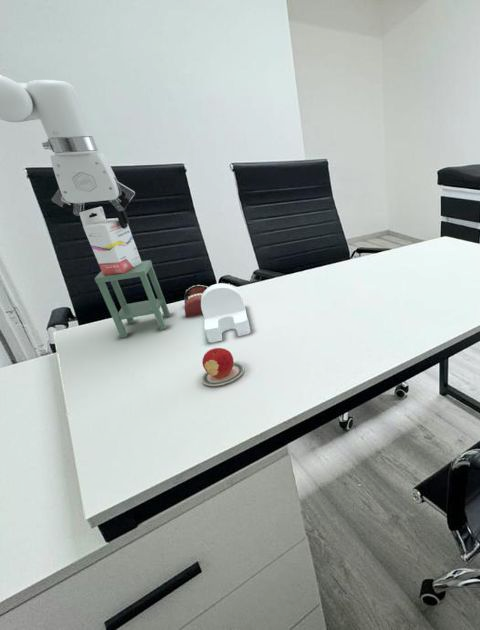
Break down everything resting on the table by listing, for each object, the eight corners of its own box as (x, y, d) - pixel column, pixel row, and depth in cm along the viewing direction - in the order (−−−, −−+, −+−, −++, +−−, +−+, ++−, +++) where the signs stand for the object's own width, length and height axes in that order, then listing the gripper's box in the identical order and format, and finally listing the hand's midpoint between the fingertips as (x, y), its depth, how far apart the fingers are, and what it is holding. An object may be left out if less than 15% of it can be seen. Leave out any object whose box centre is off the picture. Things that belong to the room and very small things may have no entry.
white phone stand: (208, 343, 92) (195, 302, 88) (208, 315, 107) (196, 278, 102) (251, 333, 96) (240, 293, 91) (245, 307, 111) (235, 271, 106)
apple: (248, 377, 79) (240, 350, 76) (205, 392, 75) (195, 364, 72) (239, 360, 85) (231, 335, 82) (199, 374, 81) (189, 347, 78)
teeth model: (178, 298, 102) (180, 284, 112) (185, 319, 105) (186, 304, 115) (213, 292, 106) (212, 279, 116) (219, 313, 108) (217, 299, 118)
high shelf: (120, 338, 97) (94, 278, 90) (128, 322, 105) (105, 266, 98) (166, 329, 100) (144, 271, 93) (170, 314, 109) (150, 260, 102)
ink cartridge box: (124, 273, 92) (99, 211, 86) (102, 275, 92) (75, 212, 85) (143, 262, 100) (121, 204, 93) (123, 264, 99) (100, 205, 93)
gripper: (16, 150, 77) (57, 238, 85) (118, 144, 83) (147, 227, 91) (31, 148, 83) (68, 231, 91) (125, 144, 90) (152, 221, 98)
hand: (107, 228), depth 91 cm, fingers closed on ink cartridge box, 6 cm apart
